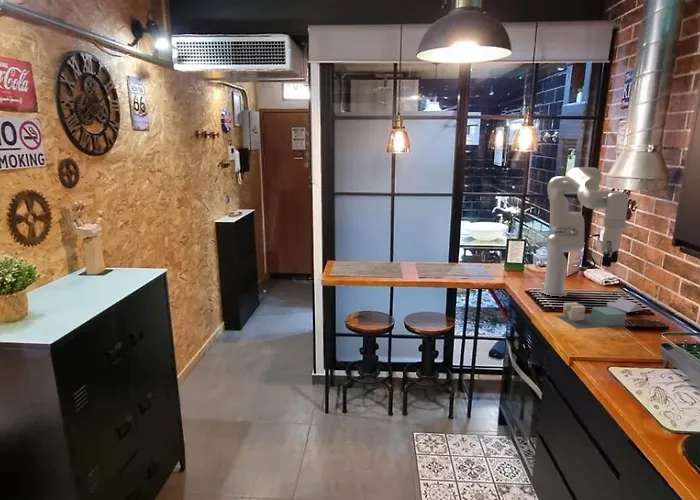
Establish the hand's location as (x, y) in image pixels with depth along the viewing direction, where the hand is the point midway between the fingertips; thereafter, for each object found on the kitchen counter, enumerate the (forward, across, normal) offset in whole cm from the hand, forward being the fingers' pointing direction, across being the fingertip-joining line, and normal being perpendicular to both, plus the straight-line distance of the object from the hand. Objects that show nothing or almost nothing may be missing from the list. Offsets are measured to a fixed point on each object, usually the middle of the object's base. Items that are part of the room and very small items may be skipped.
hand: (609, 264), depth 189 cm
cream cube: (+25, +3, -11) cm, 28 cm away
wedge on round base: (+27, -22, +2) cm, 35 cm away
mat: (+26, +1, -4) cm, 27 cm away
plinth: (+25, -3, +1) cm, 26 cm away
